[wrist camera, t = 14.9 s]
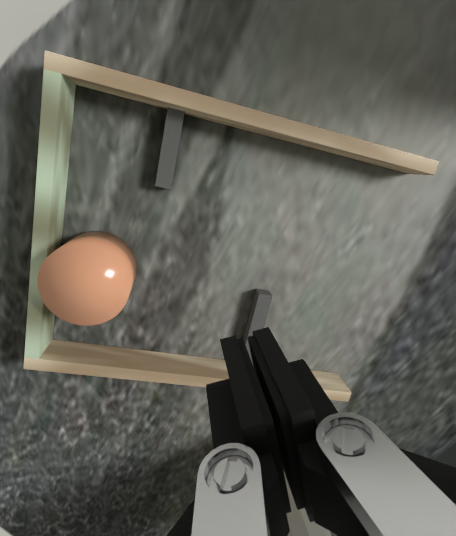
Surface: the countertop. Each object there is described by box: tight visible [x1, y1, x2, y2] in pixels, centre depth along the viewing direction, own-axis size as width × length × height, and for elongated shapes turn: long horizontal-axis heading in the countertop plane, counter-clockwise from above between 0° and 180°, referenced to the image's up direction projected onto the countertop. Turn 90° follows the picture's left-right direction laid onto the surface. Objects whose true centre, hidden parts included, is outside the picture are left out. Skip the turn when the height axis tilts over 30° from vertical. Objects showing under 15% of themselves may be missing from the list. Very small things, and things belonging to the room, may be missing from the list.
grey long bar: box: [243, 289, 272, 364], centre depth 30 cm, size 8×1×1 cm, turn 167°
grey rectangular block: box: [155, 107, 185, 190], centre depth 24 cm, size 6×1×1 cm, turn 167°
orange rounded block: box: [37, 231, 137, 326], centre depth 25 cm, size 6×6×4 cm
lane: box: [24, 50, 439, 401], centre depth 27 cm, size 22×28×3 cm
